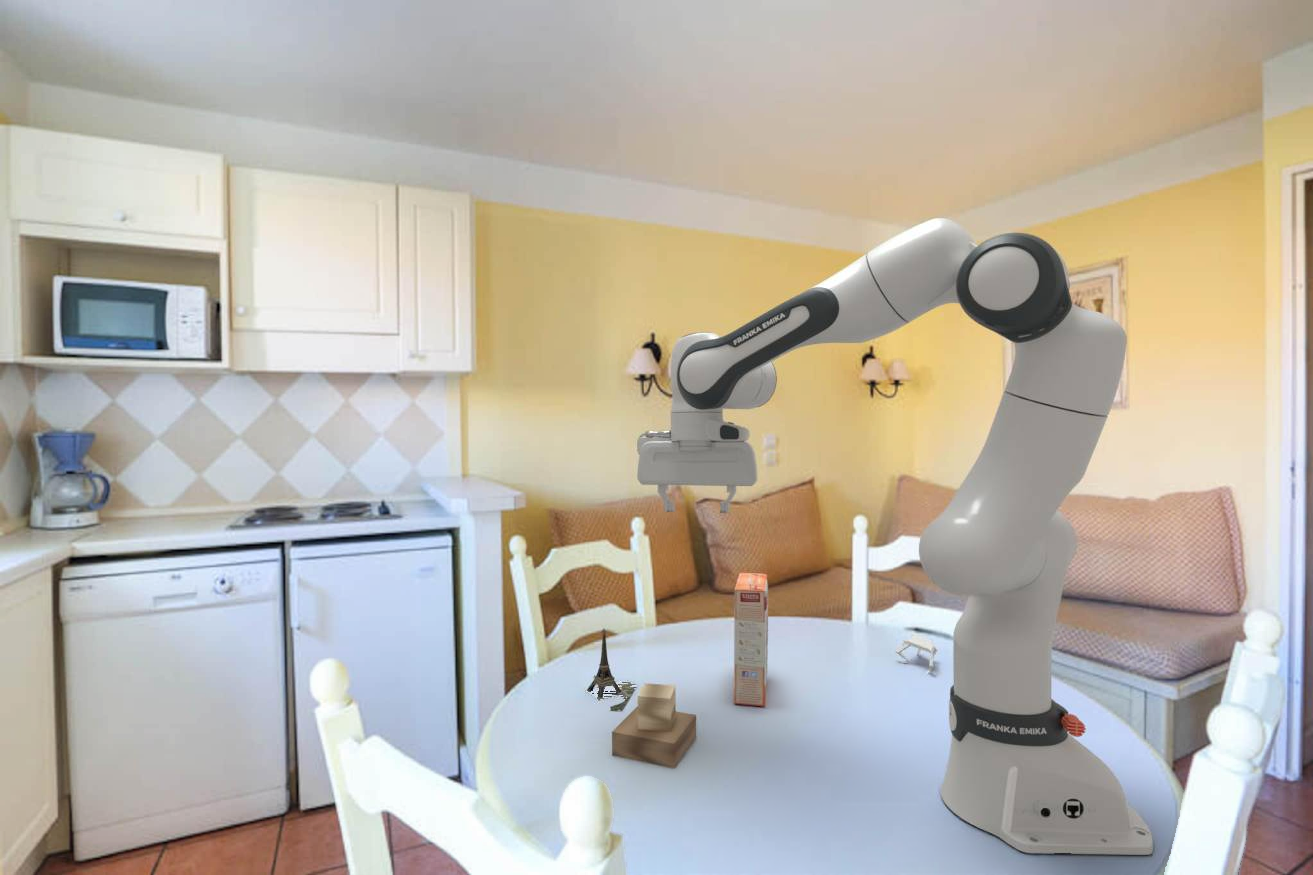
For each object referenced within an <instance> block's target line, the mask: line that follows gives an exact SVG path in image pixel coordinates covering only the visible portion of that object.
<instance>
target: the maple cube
mask: <svg viewBox="0 0 1313 875" xmlns="http://www.w3.org/2000/svg"><path fill="white" fill-rule="evenodd" d="M676 694H677V693H676V685H673V684H662V683H659V684H658V683H647V682H646V683H643V685H642V687H641V689H640V691H639V693H638V695H637V706H638V729H643V730H655V731H667V732H671V729H672V726H673V723H674V720H675V717H676V708H677V706H676V704H677V703H676V699H677V698H676V696H677V695H676Z"/></svg>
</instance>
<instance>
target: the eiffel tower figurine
mask: <svg viewBox="0 0 1313 875" xmlns="http://www.w3.org/2000/svg"><path fill="white" fill-rule="evenodd" d="M601 633H602V641H601V642H602V643H601V653H600V654H601V656H600V663H599V664H598V665H599V668H598V670H597V673H596V675H593V680H592V682H591V684H590V685H589V686H588V688H587V689H586V690H587V691H588V692H591V691H593V689H594V688H595V686H596V685H597V688H599V691H598V693H597V694H598V697H597V699H598V700H597V699H596V700H597V701H601V700H600V699H603V700H606V699H608V698H606V699H605V698H603V694H612V695H617V696H619V695H623V696H620V697H621V698H622V697H624V698H622V699H623V700H624V699H625V700H624V701H622V702H620V703H618V704H614V705H612V706H609V708H610V711H611V712H613V711H614V712H623V710H624V709H625V707H626V706H627V704H628V702H629V701H630V699H631V697H632V695H633V694H634V692H635V690H636V689H637V688H638V686H637V687H630V686H632V685H637V684H636V683H634V684H631V682H632V681H631V682H622V683H628V684H618V685H619V686H620V685H621V686H622V687H618V685H617V684H616V682H617V681H616V680H615V677H614V676H613V675H612V672H611V668H610V664H609V660H608V650H607V641H606V640H607V638H606V634H607V631H606V629H605V628H603V629H602V631H601ZM606 686H613V687H614V688H615V690H616V691H610V692H616V693H603V692H604V689H605V687H606ZM620 688H621V689H620ZM634 688H636V689H634ZM588 692H587V693H588ZM605 692H608V691H605ZM592 694H594V693H592ZM604 697H610V698H613V697H612V696H604ZM626 697H627V698H626Z"/></svg>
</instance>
